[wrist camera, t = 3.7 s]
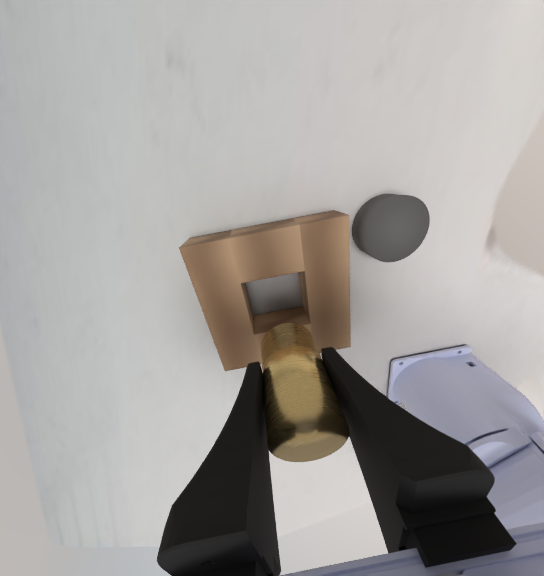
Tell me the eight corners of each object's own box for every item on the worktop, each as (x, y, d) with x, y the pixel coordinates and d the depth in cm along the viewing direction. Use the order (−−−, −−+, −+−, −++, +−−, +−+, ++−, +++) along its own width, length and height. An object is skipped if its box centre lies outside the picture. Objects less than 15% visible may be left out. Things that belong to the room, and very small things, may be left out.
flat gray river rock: (410, 188, 18) (434, 189, 15) (405, 247, 20) (424, 255, 18) (350, 200, 18) (365, 202, 15) (351, 258, 20) (364, 267, 18)
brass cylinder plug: (309, 317, 14) (347, 404, 8) (316, 358, 15) (351, 452, 10) (255, 330, 14) (258, 424, 9) (267, 369, 16) (276, 468, 10)
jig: (334, 210, 18) (349, 215, 15) (338, 327, 23) (350, 346, 20) (190, 238, 18) (179, 247, 15) (228, 349, 23) (224, 371, 20)
